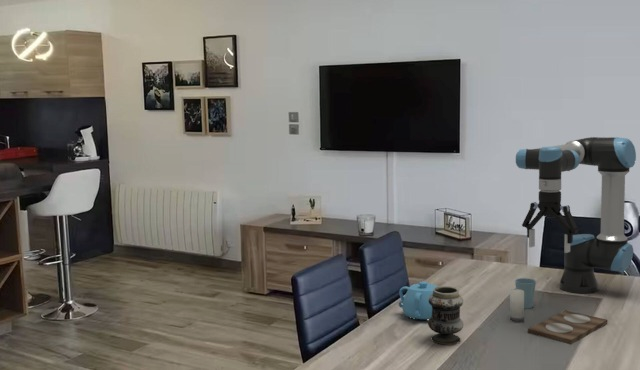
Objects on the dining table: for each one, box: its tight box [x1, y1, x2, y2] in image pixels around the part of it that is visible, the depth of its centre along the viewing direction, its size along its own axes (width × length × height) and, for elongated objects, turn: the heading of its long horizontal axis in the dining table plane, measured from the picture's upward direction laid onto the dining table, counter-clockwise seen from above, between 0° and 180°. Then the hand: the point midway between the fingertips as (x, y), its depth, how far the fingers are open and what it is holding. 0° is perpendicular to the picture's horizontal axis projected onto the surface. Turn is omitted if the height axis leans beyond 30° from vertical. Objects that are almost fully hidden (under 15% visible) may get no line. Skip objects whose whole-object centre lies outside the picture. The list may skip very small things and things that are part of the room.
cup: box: [514, 277, 537, 309], centre depth 260 cm, size 8×8×10 cm
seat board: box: [527, 309, 608, 345], centre depth 235 cm, size 27×16×2 cm, turn 132°
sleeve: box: [509, 288, 525, 323], centre depth 245 cm, size 5×5×11 cm
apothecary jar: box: [427, 285, 464, 345], centre depth 227 cm, size 12×12×18 cm
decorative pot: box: [398, 280, 438, 320], centre depth 252 cm, size 16×16×14 cm
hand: (549, 249), depth 236 cm, fingers open, 13 cm apart
